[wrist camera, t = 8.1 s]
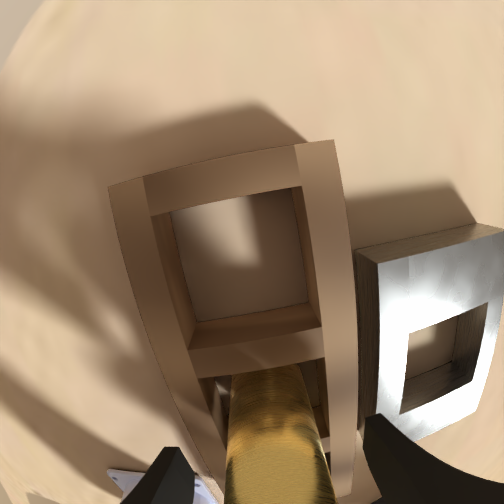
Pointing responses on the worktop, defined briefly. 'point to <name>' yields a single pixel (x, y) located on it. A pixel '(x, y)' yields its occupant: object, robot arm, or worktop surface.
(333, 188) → the walnut rack
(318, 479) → the brass round bar
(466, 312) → the steel socket
